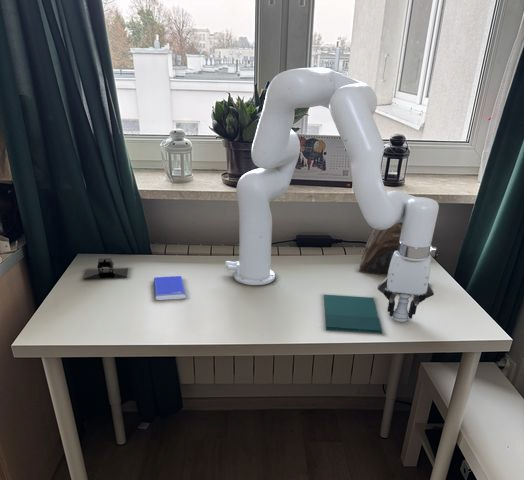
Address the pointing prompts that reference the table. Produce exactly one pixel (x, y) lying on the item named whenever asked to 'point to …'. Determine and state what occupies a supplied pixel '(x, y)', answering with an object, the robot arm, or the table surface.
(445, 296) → the table surface
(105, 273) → the build plate
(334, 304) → the flat rectangular slab
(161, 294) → the hard drive
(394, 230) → the brown faceted tall stone
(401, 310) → the rook chess piece
